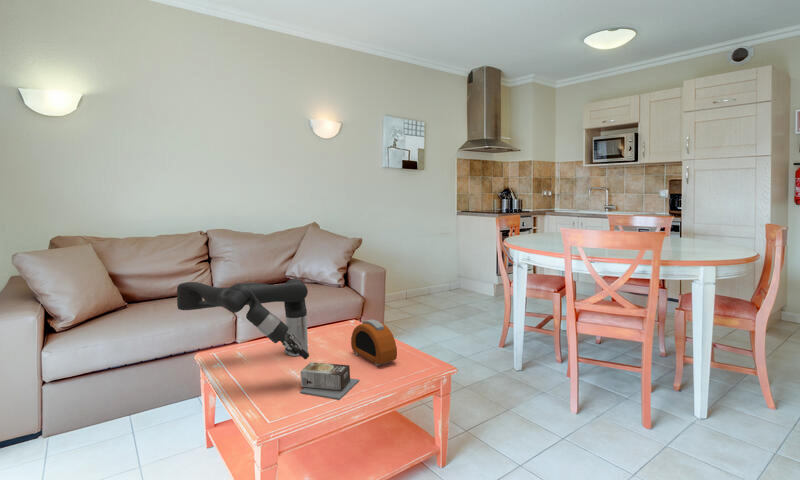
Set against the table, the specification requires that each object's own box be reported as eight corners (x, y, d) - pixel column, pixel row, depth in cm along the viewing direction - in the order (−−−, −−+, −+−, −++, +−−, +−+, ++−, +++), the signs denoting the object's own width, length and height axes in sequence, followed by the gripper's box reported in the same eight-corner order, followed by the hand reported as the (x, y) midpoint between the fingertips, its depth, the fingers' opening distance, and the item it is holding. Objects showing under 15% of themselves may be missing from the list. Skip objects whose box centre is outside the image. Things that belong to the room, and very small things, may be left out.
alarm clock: (350, 352, 195) (349, 316, 193) (367, 348, 201) (366, 313, 199) (380, 369, 177) (379, 329, 175) (397, 364, 182) (397, 325, 180)
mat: (299, 393, 156) (299, 391, 156) (322, 375, 171) (322, 373, 171) (339, 399, 151) (339, 398, 151) (359, 381, 166) (359, 379, 166)
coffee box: (310, 361, 167) (350, 364, 164) (311, 377, 168) (350, 380, 165) (300, 370, 159) (341, 374, 155) (300, 387, 159) (342, 391, 156)
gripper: (267, 329, 167) (301, 357, 170) (263, 341, 154) (299, 371, 157) (281, 315, 167) (314, 343, 171) (278, 325, 154) (314, 356, 158)
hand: (307, 357), depth 164 cm, fingers closed
